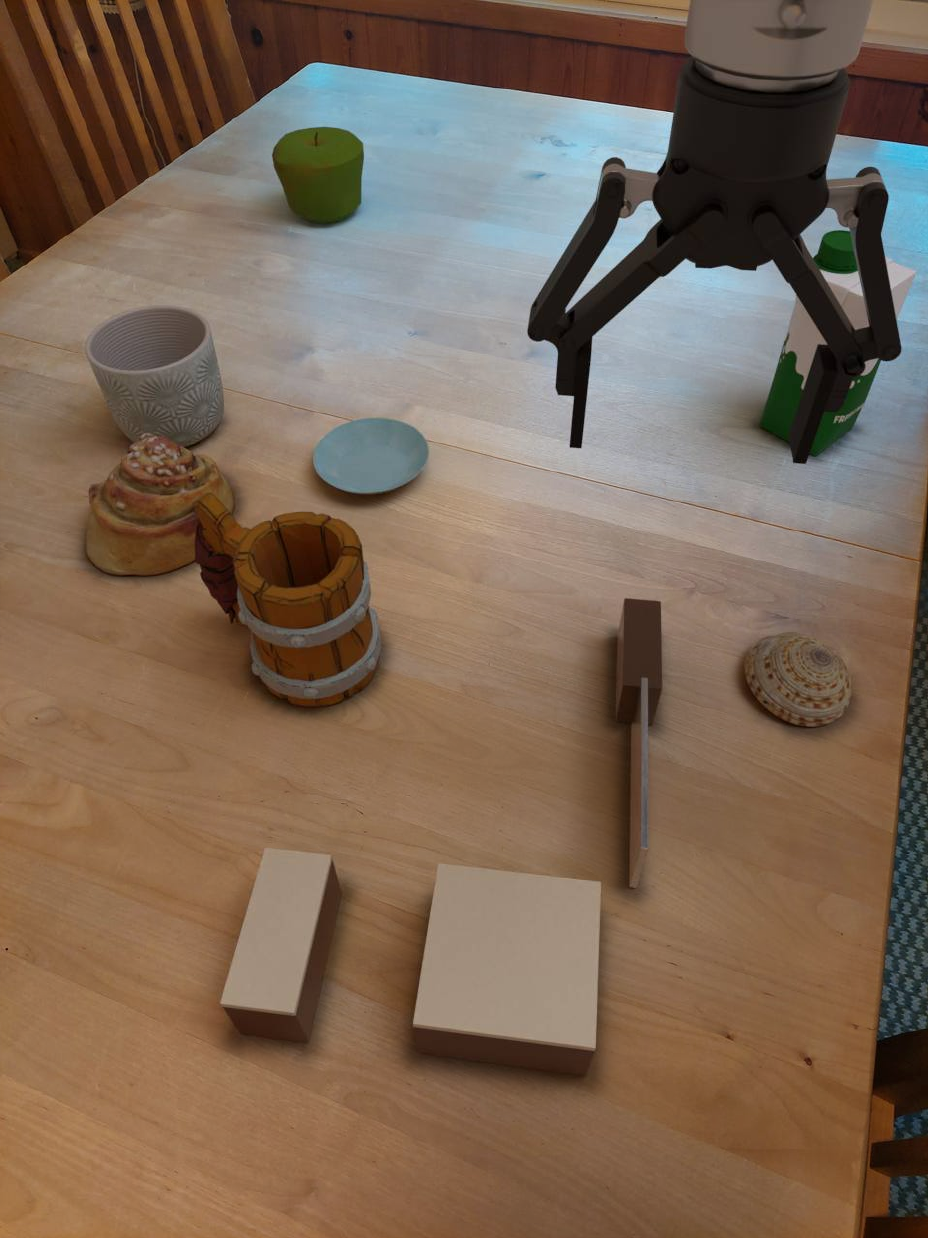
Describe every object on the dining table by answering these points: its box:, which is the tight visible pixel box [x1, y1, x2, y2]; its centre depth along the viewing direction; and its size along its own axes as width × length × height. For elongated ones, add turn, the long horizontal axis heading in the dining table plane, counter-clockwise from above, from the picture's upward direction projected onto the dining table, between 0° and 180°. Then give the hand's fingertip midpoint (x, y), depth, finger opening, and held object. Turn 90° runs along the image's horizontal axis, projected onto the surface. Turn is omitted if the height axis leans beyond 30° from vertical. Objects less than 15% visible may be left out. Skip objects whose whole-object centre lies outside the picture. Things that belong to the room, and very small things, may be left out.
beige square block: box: [412, 862, 602, 1077], centre depth 57 cm, size 10×10×6 cm
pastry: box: [86, 433, 236, 577], centre depth 85 cm, size 13×15×8 cm
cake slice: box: [219, 847, 343, 1044], centre depth 58 cm, size 10×4×6 cm, turn 173°
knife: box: [615, 597, 663, 889], centre depth 68 cm, size 23×3×6 cm, turn 173°
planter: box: [84, 304, 225, 448], centre depth 94 cm, size 12×12×11 cm
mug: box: [192, 492, 382, 708], centre depth 72 cm, size 11×16×15 cm, turn 61°
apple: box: [271, 126, 365, 224], centre depth 127 cm, size 12×12×11 cm
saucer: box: [312, 417, 430, 495], centre depth 92 cm, size 12×12×2 cm
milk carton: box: [758, 229, 918, 457], centre depth 89 cm, size 9×9×20 cm
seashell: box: [744, 631, 853, 728], centre depth 74 cm, size 8×6×8 cm
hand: (685, 442), depth 56 cm, fingers open, 13 cm apart
